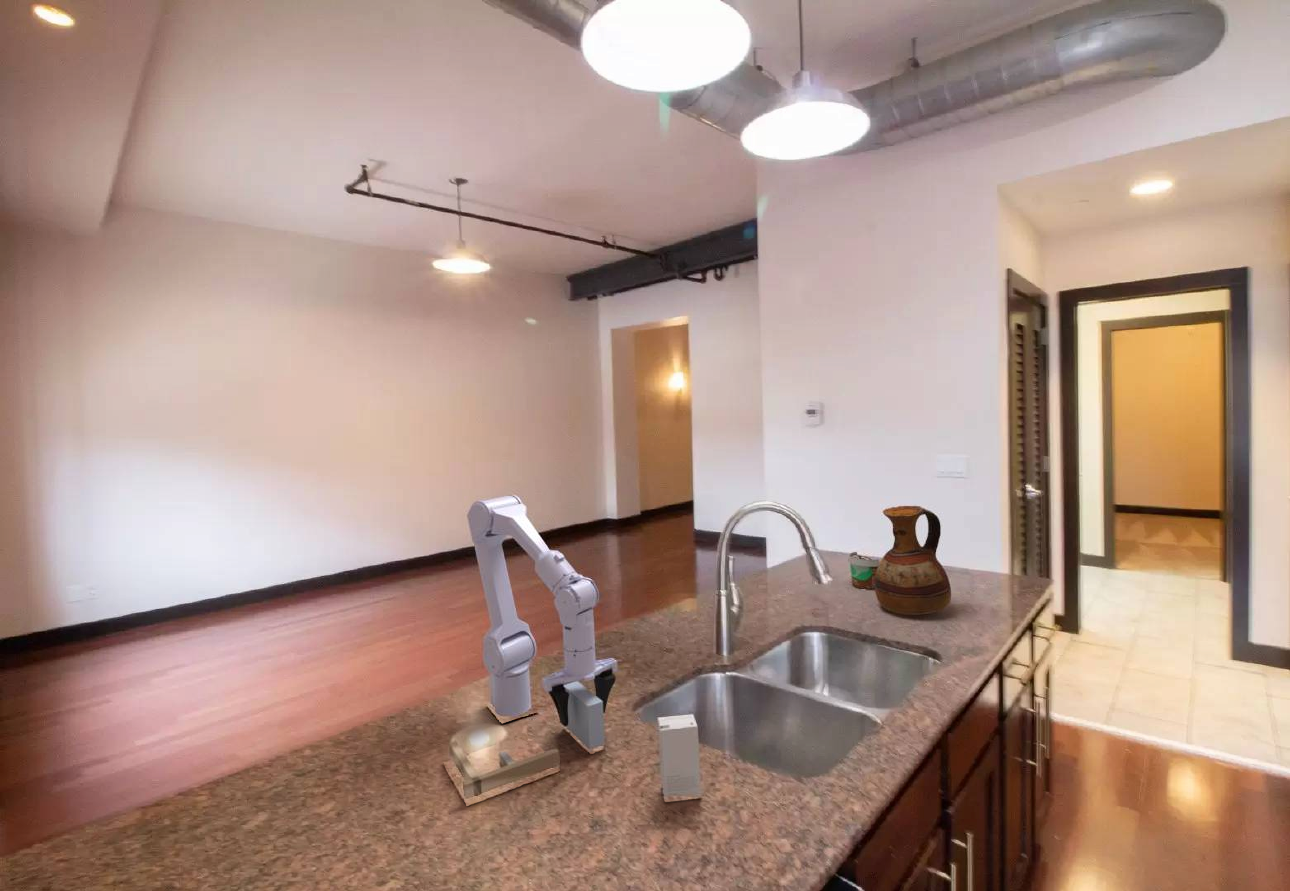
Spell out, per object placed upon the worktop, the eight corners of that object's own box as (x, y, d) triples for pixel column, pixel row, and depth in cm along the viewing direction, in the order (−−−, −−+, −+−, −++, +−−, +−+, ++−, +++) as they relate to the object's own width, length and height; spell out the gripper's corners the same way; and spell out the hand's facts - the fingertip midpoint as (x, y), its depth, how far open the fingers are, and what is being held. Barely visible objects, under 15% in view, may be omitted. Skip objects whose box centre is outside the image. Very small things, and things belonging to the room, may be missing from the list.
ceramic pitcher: (860, 603, 185) (859, 503, 183) (916, 595, 191) (915, 498, 189) (907, 625, 167) (906, 514, 165) (967, 615, 173) (967, 507, 171)
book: (563, 729, 120) (561, 684, 120) (577, 724, 122) (575, 679, 121) (590, 755, 111) (587, 706, 110) (605, 749, 113) (602, 701, 112)
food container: (840, 583, 207) (839, 553, 206) (856, 580, 208) (855, 551, 208) (863, 593, 195) (863, 562, 194) (880, 591, 197) (880, 559, 196)
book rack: (443, 765, 110) (441, 745, 109) (529, 736, 118) (528, 717, 118) (466, 807, 98) (465, 785, 98) (560, 771, 106) (559, 751, 106)
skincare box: (697, 784, 101) (694, 711, 101) (702, 801, 97) (699, 726, 96) (659, 787, 101) (656, 715, 100) (663, 805, 96) (660, 729, 96)
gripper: (551, 663, 108) (555, 739, 109) (624, 643, 116) (627, 714, 117) (536, 650, 114) (540, 722, 115) (605, 632, 122) (609, 699, 123)
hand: (582, 717), depth 116 cm, fingers open, 7 cm apart
